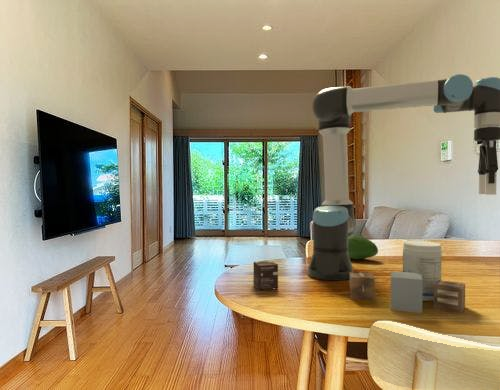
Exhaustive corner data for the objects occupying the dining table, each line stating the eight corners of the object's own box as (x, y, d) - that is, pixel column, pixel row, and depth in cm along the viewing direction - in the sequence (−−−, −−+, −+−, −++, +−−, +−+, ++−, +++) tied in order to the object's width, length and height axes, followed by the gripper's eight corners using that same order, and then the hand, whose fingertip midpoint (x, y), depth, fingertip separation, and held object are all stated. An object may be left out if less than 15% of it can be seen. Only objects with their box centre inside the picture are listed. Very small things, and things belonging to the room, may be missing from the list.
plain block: (390, 309, 89) (390, 277, 89) (390, 301, 96) (391, 271, 96) (422, 313, 87) (422, 279, 87) (420, 304, 93) (420, 273, 93)
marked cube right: (433, 309, 90) (433, 284, 90) (438, 303, 95) (438, 279, 95) (461, 314, 86) (461, 288, 86) (465, 307, 91) (465, 282, 91)
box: (258, 290, 106) (258, 265, 106) (253, 285, 112) (253, 261, 112) (278, 289, 108) (278, 264, 108) (271, 284, 114) (271, 260, 114)
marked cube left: (351, 302, 95) (351, 278, 95) (349, 293, 104) (349, 271, 103) (375, 303, 94) (375, 279, 94) (371, 294, 102) (371, 272, 102)
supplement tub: (396, 292, 104) (396, 240, 104) (427, 291, 105) (427, 240, 105) (414, 302, 95) (414, 246, 94) (449, 301, 96) (449, 245, 95)
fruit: (382, 260, 152) (382, 236, 152) (371, 263, 145) (371, 238, 144) (348, 255, 162) (348, 233, 162) (337, 258, 155) (337, 235, 155)
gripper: (511, 120, 104) (509, 194, 105) (494, 132, 127) (493, 194, 127) (480, 122, 107) (479, 194, 108) (469, 134, 130) (468, 193, 130)
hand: (486, 194), depth 118 cm, fingers open, 13 cm apart
